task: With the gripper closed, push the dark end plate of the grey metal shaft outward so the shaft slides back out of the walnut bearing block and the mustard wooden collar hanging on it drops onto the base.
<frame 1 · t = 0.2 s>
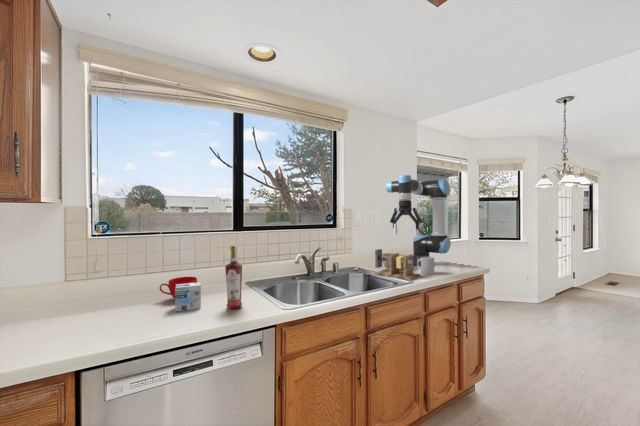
hand: (405, 234, 186), 28 cm above the countertop, fingers open, 13 cm apart
liquor: (234, 308, 135), on the countertop
light bulb box: (188, 308, 135), on the countertop
mug: (425, 273, 201), on the countertop
ceramic cup: (179, 300, 148), on the countertop
collar: (401, 267, 193), point 6 cm above the countertop, touching shaft
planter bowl: (393, 270, 215), on the countertop
shaft: (394, 260, 197), point 10 cm above the countertop, slide at 0.0 cm, touching collar
bearing block: (397, 275, 195), on the countertop
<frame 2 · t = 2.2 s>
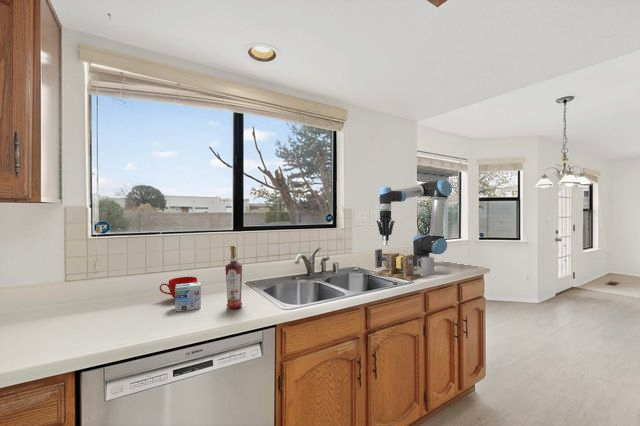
hand: (385, 245, 200), 19 cm above the countertop, fingers closed
nothing on the countertop moved.
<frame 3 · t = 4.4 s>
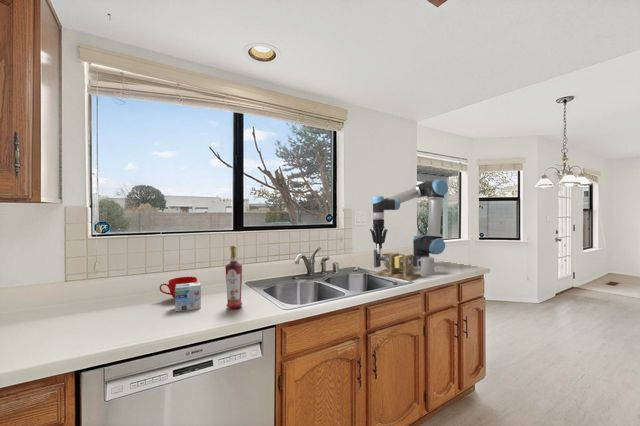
hand: (379, 253, 204), 13 cm above the countertop, fingers closed
collar: (399, 267, 194), point 6 cm above the countertop, touching shaft
shaft: (392, 259, 197), point 10 cm above the countertop, slide at 1.2 cm, touching collar, gripper
everything else where it was.
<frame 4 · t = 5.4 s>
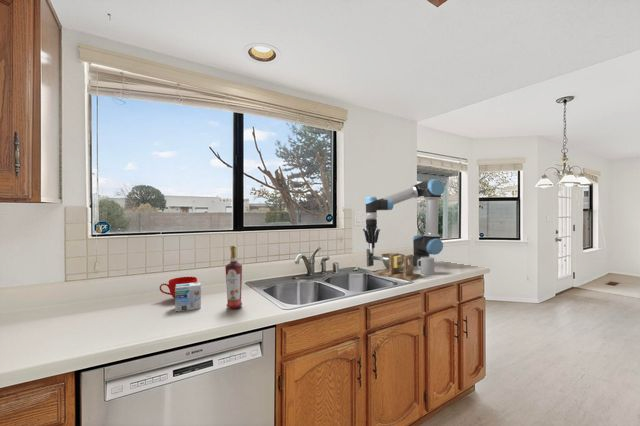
hand: (371, 252, 208), 13 cm above the countertop, fingers closed
collar: (397, 266, 195), point 6 cm above the countertop, touching bearing block, shaft
shaft: (384, 259, 201), point 10 cm above the countertop, slide at 7.0 cm, touching collar, gripper
everything else where it was.
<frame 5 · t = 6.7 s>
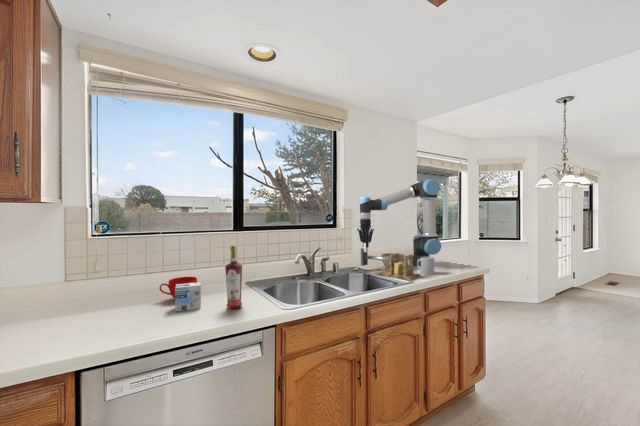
hand: (365, 252, 212), 13 cm above the countertop, fingers closed
collar: (397, 273, 195), point 2 cm above the countertop, tilted 8°, touching bearing block
shaft: (378, 258, 205), point 10 cm above the countertop, slide at 12.0 cm, touching gripper
everything else where it was.
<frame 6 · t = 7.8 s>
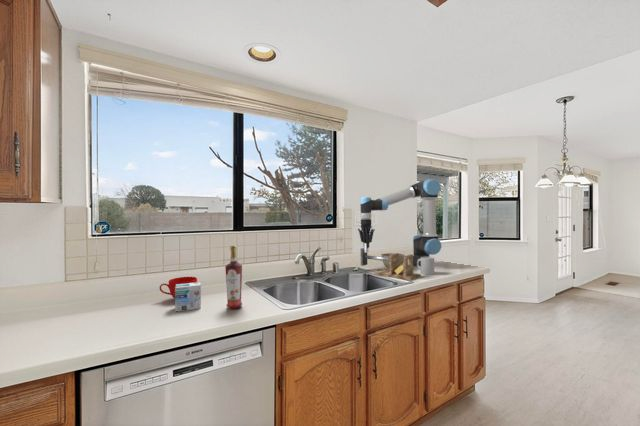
hand: (366, 252, 212), 13 cm above the countertop, fingers closed
collar: (398, 271, 194), point 3 cm above the countertop, tilted 48°, touching bearing block
shaft: (378, 258, 205), point 10 cm above the countertop, slide at 12.2 cm
everything else where it was.
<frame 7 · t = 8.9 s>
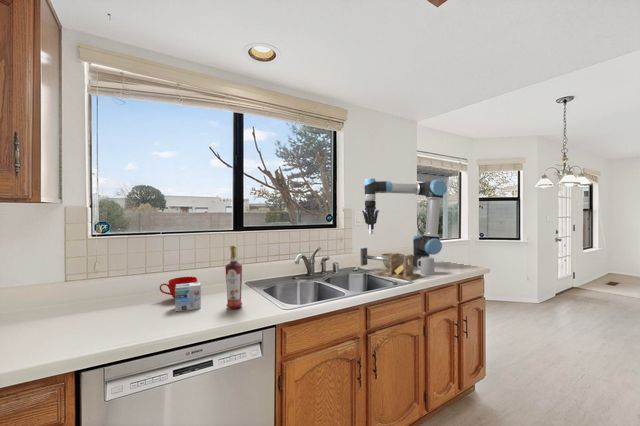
hand: (371, 233, 211), 26 cm above the countertop, fingers closed
nothing on the countertop moved.
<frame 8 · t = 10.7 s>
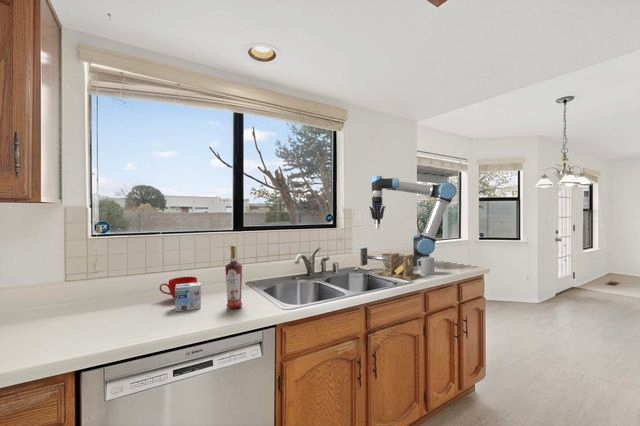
hand: (377, 228, 222), 29 cm above the countertop, fingers closed
nothing on the countertop moved.
at the end: collar point 2.6 cm above the countertop; shaft slide at 12.2 cm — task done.
